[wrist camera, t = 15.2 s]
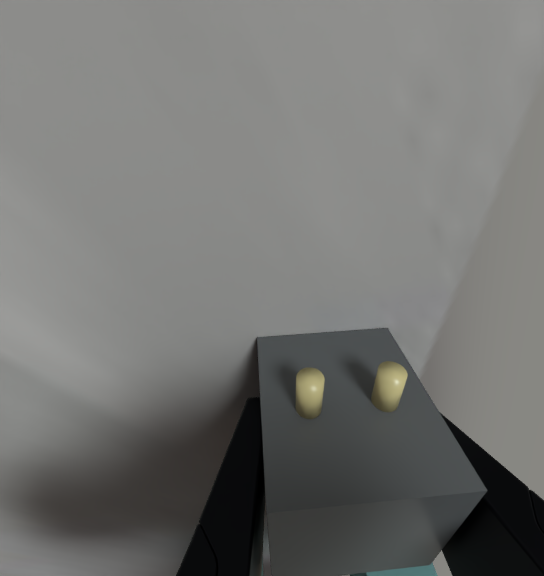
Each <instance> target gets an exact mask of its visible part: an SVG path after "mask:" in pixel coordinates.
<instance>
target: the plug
mask: <svg viewBox="0 0 544 576" xmlns="http://www.w3.org/2000/svg"><path fill="white" fill-rule="evenodd" d="M257 345H258V364H259V383H260V401H261V420H262V439H263V458H264V477H265V495H266V514H267V526H268V538H269V549H270V561H271V573H272V576H340V575H348V574H357V573H366V572H374V571H383V570H392V569H401V568H409V567H418V566H427V565H430V564H431V563H432V562H433V560H434V559H435V558H436V556H437V555H438V554H439V552H440V551H441V550H442V549H443V548H444V546H445V545H446V544H447V542H448V541H449V540H450V538H451V537H452V536H453V535H454V533H455V532H456V531H457V529H458V528H459V527H460V526H461V524H462V523H463V522H464V520H465V519H466V518H467V517H468V515H469V514H470V513H471V511H472V510H473V509H474V507H475V506H476V505H477V504H478V502H479V501H480V500H481V498H482V497H483V496H484V495H485V493H486V492H487V489H486V487H485V486H484V484H483V483H482V481H481V479H480V478H479V476H478V474H477V473H476V471H475V470H474V468H473V466H472V465H471V463H470V461H469V460H468V458H467V456H466V455H465V453H464V452H463V450H462V448H461V447H460V445H459V443H458V442H457V440H456V439H455V437H454V435H453V434H452V432H451V430H450V429H449V427H448V426H447V424H446V422H445V421H444V419H443V417H442V416H441V414H440V413H439V411H438V409H437V408H436V406H435V404H434V403H433V401H432V400H431V398H430V396H429V395H428V393H427V391H426V390H425V388H424V387H423V385H422V383H421V382H420V380H419V378H418V377H417V375H416V373H415V372H414V370H413V369H412V367H411V365H410V364H409V362H408V360H407V359H406V357H405V356H404V354H403V352H402V351H401V349H400V347H399V346H398V344H397V343H396V341H395V339H394V338H393V336H392V334H391V333H390V331H389V330H388V328H381V329H367V330H354V331H340V332H326V333H313V334H299V335H285V336H271V337H258V338H257Z"/></svg>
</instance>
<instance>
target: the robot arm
mask: <svg viewBox="0 0 544 576" xmlns="http://www.w3.org/2000/svg"><path fill="white" fill-rule="evenodd" d="M439 413H440V412H439ZM440 414H441V413H440ZM441 416H442V417H443V419H444V421H445V422H446V424H447V426H448V427H449V429H450V430H451V432H452V434H453V435H454V437H455V439H456V440H457V442H458V443H459V445H460V447H461V448H462V450H463V452H464V453H465V455H466V456H467V458H468V460H469V461H470V463H471V465H472V466H473V468H474V470H475V471H476V473H477V474H478V476H479V478H480V479H481V481H482V483H483V484H484V486H485V487H486V489H487V492H486V493H485V495H484V496H483V497H482V498H481V500H480V501H479V502H478V504H477V505H476V506H475V507H474V509H473V510H472V511H471V513H470V514H469V515H468V517H467V518H466V519H465V520H464V522H463V523H462V524H461V526H460V527H459V528H458V529H457V531H456V532H455V533H454V535H453V536H452V537H451V538H450V540H449V541H448V542H447V544H446V545H445V546H444V548H443V549H442V552H443V554H444V556H445V559H446V561H447V563H448V566H449V568H450V571H451V573H452V575H453V576H544V500H543V499H542V498H540V497H539V496H538V495H537V494H535V493H534V492H533V491H531V490H529V488H528V487H527V486H526V485H525V484H524V483H522V482H521V481H520V480H519V479H518V478H516V477H515V476H514V475H513V474H512V473H511V472H510V471H508V470H507V469H506V468H505V467H504V466H502V465H501V464H500V463H499V462H498V461H497V460H495V459H494V458H493V457H492V456H491V455H489V454H488V453H487V452H486V451H485V450H484V449H482V448H481V447H480V446H479V445H478V444H476V443H475V442H474V441H473V440H472V439H471V438H469V437H468V436H467V435H466V434H465V433H464V432H462V431H461V430H460V429H459V428H458V427H456V426H455V425H454V424H453V423H452V422H451V421H449V420H448V419H447V418H446V417H445V416H443V415H442V414H441ZM264 511H265V477H264V458H263V439H262V420H261V401H260V397H251V398H248V400H247V401H246V404H245V406H244V409H243V412H242V414H241V417H240V419H239V422H238V424H237V427H236V429H235V432H234V434H233V437H232V439H231V442H230V444H229V447H228V449H227V452H226V454H225V457H224V459H223V462H222V464H221V467H220V470H219V472H218V475H217V477H216V480H215V482H214V485H213V487H212V490H211V492H210V495H209V497H208V500H207V502H206V505H205V507H204V510H203V512H202V515H201V517H200V520H199V523H200V524H198V525H197V527H196V530H195V532H194V535H193V537H192V540H191V542H190V545H189V547H188V549H187V552H186V554H185V556H184V559H183V561H182V563H181V566H180V568H179V570H178V572H177V575H176V576H261V572H262V552H263V531H264Z"/></svg>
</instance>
